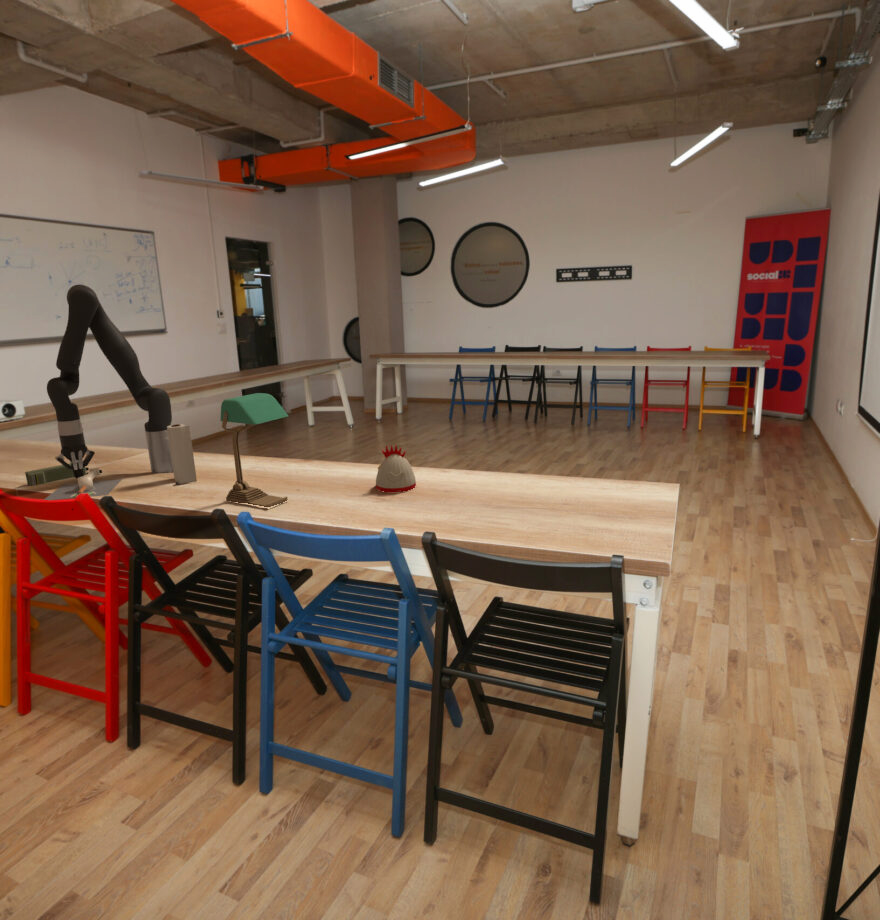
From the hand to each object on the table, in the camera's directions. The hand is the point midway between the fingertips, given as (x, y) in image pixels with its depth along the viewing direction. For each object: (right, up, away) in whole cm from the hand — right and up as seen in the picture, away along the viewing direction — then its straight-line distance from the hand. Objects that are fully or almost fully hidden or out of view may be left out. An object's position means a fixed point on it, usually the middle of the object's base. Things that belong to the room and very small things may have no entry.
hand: (79, 478), depth 225 cm
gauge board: (+6, -5, -6) cm, 10 cm away
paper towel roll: (+37, -1, +3) cm, 37 cm away
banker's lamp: (+72, -7, -22) cm, 76 cm away
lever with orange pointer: (+6, -3, -5) cm, 8 cm away
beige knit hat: (+116, -3, -11) cm, 117 cm away
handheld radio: (-10, -2, +9) cm, 14 cm away
